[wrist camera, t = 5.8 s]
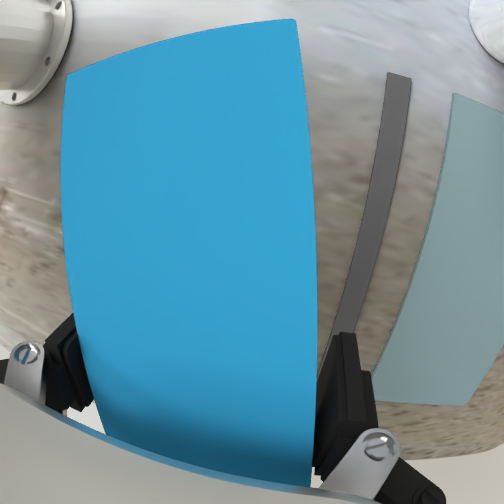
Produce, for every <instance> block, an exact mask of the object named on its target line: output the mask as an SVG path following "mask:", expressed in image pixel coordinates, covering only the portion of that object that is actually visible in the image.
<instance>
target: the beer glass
mask: <svg viewBox="0 0 504 504" xmlns="http://www.w3.org/2000/svg"><path fill="white" fill-rule="evenodd" d="M469 20H470V24H471V27H472V29H473V31H474V33H475V35H476V37H477V39H478V40H479V42H480V43H481V45H482V46H483V47H484V48H485V50H486V51H487V52H488V53H489V54H490V55H491V56H493V57H494V58H495V59H497V60H498V61H500V62H501V63H503V64H504V0H471V2H470V5H469Z"/></svg>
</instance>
